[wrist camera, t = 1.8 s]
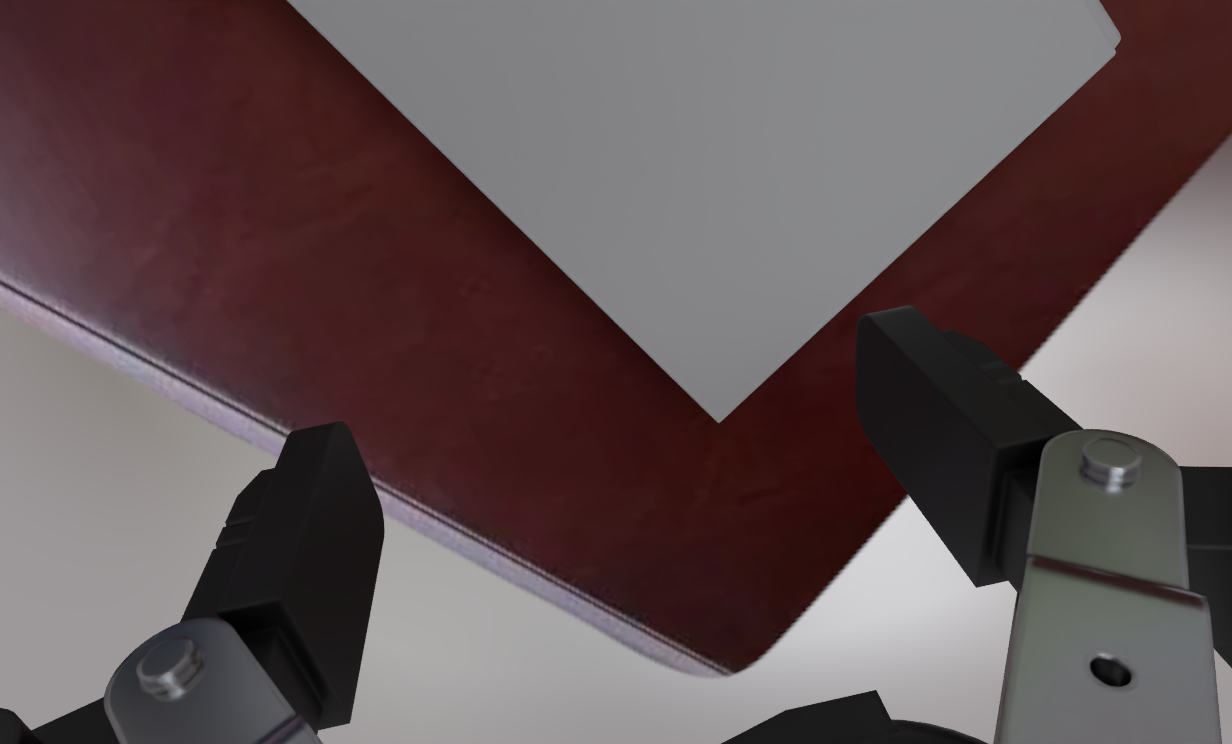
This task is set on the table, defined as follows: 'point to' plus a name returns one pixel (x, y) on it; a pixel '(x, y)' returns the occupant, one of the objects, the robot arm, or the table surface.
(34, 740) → the robot arm
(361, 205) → the table surface
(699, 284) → the book
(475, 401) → the table surface
